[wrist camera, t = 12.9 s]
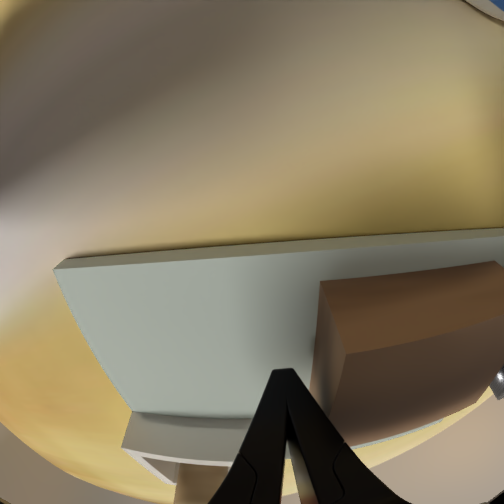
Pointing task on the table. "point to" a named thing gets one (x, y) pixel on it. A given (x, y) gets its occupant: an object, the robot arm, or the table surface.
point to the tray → (182, 442)
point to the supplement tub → (490, 7)
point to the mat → (233, 312)
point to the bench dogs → (498, 384)
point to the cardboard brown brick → (406, 347)
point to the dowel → (198, 483)
